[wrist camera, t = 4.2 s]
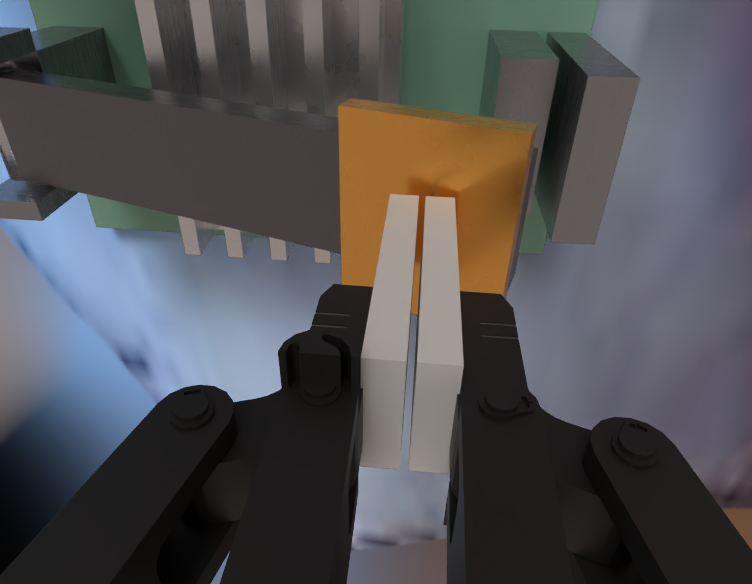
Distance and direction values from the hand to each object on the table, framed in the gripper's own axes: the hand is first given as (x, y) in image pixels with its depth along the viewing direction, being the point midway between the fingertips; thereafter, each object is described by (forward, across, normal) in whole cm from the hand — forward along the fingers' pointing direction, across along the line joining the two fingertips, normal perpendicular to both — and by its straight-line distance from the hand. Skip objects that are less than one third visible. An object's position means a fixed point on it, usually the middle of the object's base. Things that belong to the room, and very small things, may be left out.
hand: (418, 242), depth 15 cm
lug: (+13, +4, 0) cm, 14 cm away
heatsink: (+13, -6, 0) cm, 15 cm away
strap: (+5, -7, 0) cm, 8 cm away
